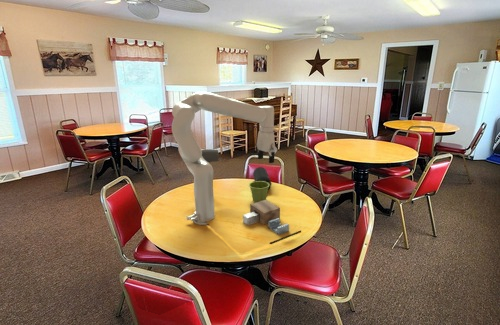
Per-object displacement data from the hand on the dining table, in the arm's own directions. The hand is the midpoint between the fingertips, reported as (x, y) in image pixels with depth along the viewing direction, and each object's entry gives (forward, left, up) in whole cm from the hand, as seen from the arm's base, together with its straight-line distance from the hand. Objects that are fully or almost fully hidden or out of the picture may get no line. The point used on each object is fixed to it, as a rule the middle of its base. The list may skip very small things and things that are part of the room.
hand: (265, 160), depth 157 cm
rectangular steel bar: (-13, -13, -25) cm, 32 cm away
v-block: (-12, -27, -27) cm, 40 cm away
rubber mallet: (-20, +30, -27) cm, 45 cm away
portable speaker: (+17, +27, -27) cm, 41 cm away
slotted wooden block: (-10, -13, -27) cm, 32 cm away
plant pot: (0, +6, -27) cm, 28 cm away
